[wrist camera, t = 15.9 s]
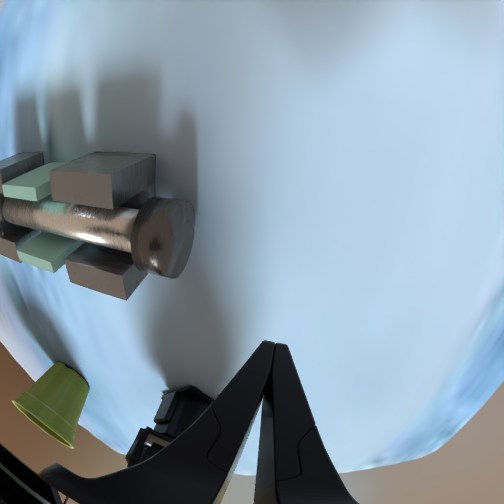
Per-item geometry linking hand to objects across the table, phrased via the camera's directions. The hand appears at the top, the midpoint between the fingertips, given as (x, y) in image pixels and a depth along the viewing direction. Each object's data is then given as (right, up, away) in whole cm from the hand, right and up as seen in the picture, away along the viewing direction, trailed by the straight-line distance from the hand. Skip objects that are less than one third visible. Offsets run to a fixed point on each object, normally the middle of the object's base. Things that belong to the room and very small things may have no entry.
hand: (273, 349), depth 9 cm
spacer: (-15, +8, +10) cm, 20 cm away
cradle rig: (-15, +8, +10) cm, 19 cm away
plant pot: (-30, -17, +27) cm, 44 cm away
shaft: (-12, +7, +9) cm, 17 cm away
